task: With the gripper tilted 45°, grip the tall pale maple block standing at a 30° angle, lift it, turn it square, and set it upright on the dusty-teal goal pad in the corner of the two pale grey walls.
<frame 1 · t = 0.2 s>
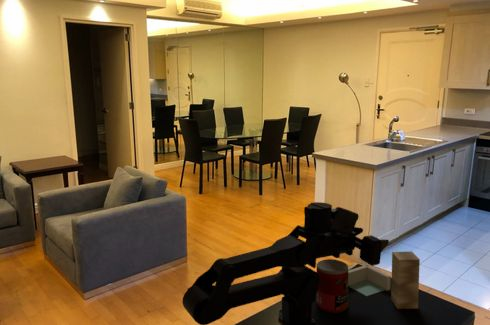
hand: (374, 235, 106), 16 cm above the table, tool horizontal, fingers open, 9 cm apart
canned food: (332, 306, 103), on the table
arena: (366, 288, 112), on the table
maple block: (404, 303, 103), on the table
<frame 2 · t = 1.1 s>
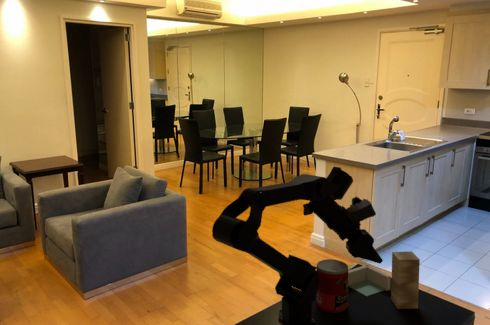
hand: (375, 254, 101), 13 cm above the table, tool tilted 45°, fingers open, 9 cm apart
nothing on the table moved.
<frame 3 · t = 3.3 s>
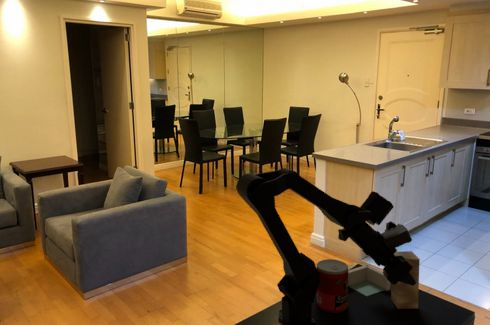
hand: (410, 279, 102), 7 cm above the table, tool tilted 45°, fingers closed on maple block, 5 cm apart
maple block: (404, 303, 103), on the table, touching gripper
everything else where it was.
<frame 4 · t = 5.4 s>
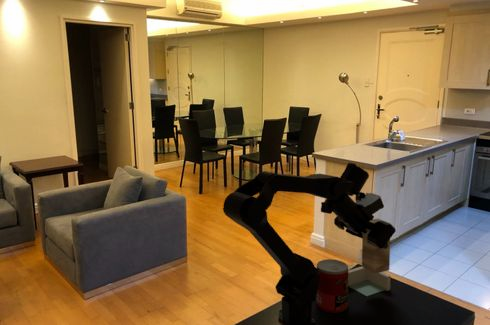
hand: (380, 243, 108), 13 cm above the table, tool tilted 45°, fingers closed on maple block, 5 cm apart
maple block: (375, 268, 109), point 7 cm above the table, touching gripper
everything else where it was.
when the fingers open (8 cm above the table, at t = 7.3 s): maple block drops 1 cm, resting on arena.
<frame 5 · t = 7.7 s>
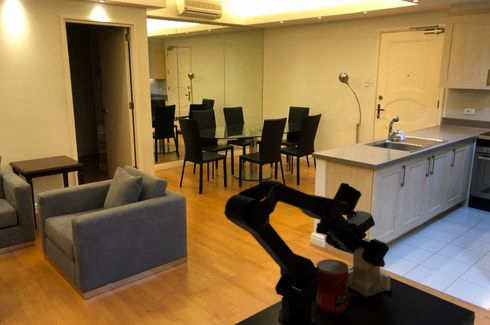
hand: (370, 259, 111), 8 cm above the table, tool tilted 45°, fingers open, 9 cm apart
maple block: (366, 287, 112), resting on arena
everything else where it was.
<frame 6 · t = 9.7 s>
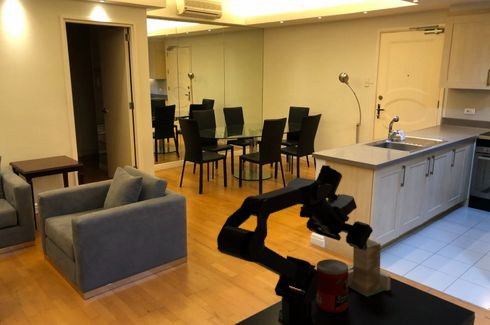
hand: (352, 243, 109), 13 cm above the table, tool tilted 45°, fingers open, 9 cm apart
nothing on the table moved.
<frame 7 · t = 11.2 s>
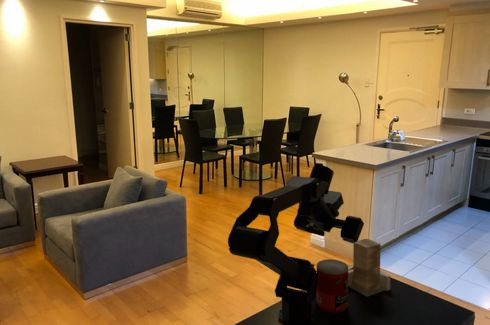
hand: (338, 238, 113), 14 cm above the table, tool tilted 45°, fingers open, 9 cm apart
nothing on the table moved.
at the end: maple block 0.1 cm off-centre on the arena, point 0.2 cm above the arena's base; maple block tilted 0°; the gripper is holding nothing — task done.
